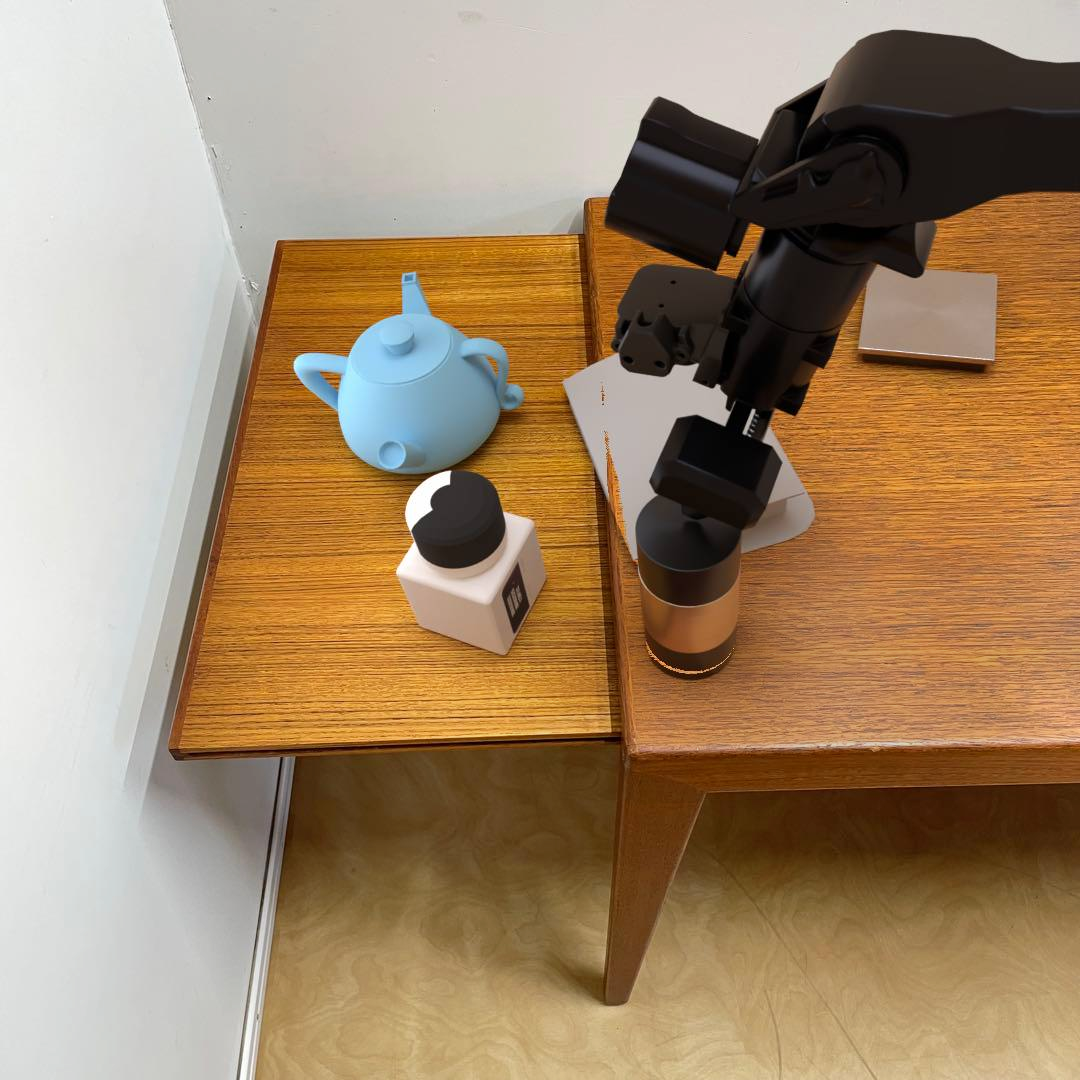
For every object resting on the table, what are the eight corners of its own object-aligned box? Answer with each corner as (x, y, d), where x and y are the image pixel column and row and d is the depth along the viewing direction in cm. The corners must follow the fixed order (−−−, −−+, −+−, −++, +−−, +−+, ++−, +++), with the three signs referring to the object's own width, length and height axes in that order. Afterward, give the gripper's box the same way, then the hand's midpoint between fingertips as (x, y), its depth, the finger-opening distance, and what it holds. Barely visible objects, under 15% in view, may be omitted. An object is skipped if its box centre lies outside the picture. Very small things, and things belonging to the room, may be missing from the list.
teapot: (297, 450, 90) (253, 359, 81) (429, 339, 96) (402, 244, 87) (414, 529, 82) (380, 439, 74) (548, 403, 89) (532, 307, 80)
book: (720, 339, 91) (721, 306, 88) (827, 528, 77) (832, 497, 74) (560, 385, 90) (555, 353, 87) (639, 584, 76) (636, 555, 73)
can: (754, 654, 72) (764, 541, 60) (674, 696, 70) (668, 589, 59) (705, 588, 75) (705, 470, 64) (628, 626, 74) (615, 513, 63)
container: (548, 577, 78) (525, 471, 67) (506, 658, 74) (474, 559, 64) (463, 550, 81) (427, 445, 70) (417, 627, 77) (373, 528, 66)
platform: (989, 377, 84) (995, 360, 82) (855, 364, 87) (858, 348, 85) (992, 291, 90) (997, 274, 88) (866, 282, 93) (869, 265, 91)
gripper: (707, 130, 56) (645, 318, 70) (587, 353, 47) (542, 521, 60) (892, 203, 55) (794, 380, 69) (807, 446, 46) (712, 596, 59)
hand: (712, 461), depth 64 cm, fingers open, 9 cm apart
